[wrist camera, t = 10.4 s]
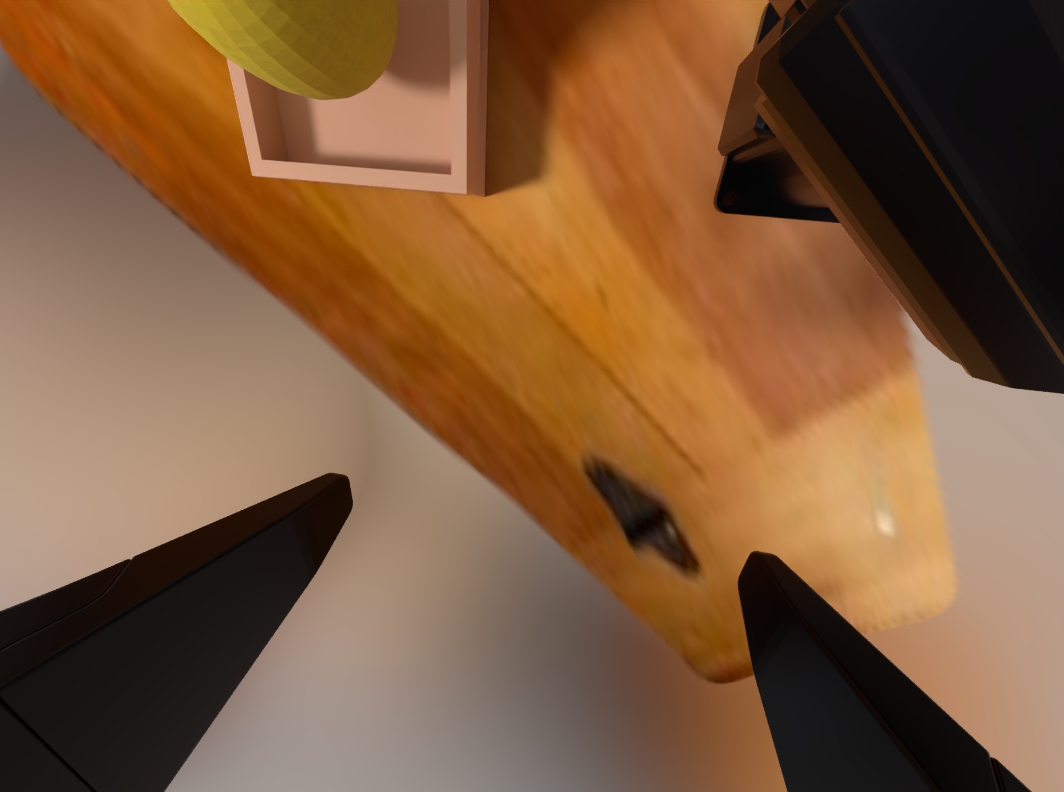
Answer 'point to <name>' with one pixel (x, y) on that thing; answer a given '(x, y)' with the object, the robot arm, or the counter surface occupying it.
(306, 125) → the dish
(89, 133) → the counter surface
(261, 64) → the lemon
